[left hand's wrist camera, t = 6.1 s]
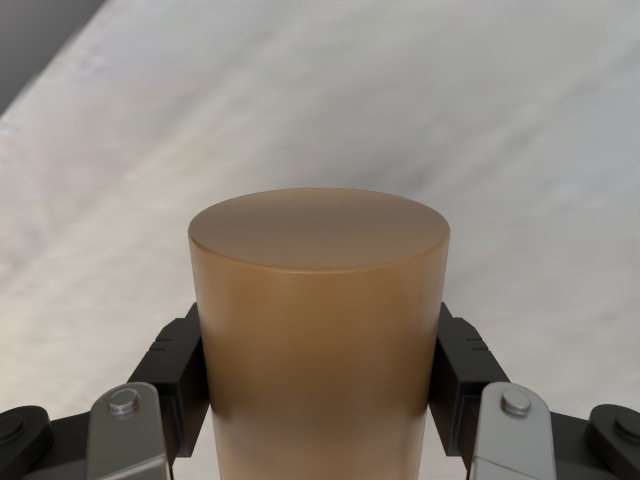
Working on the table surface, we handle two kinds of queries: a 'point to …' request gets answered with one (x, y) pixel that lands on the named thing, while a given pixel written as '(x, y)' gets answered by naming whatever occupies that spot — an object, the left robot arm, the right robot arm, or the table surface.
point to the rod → (319, 331)
